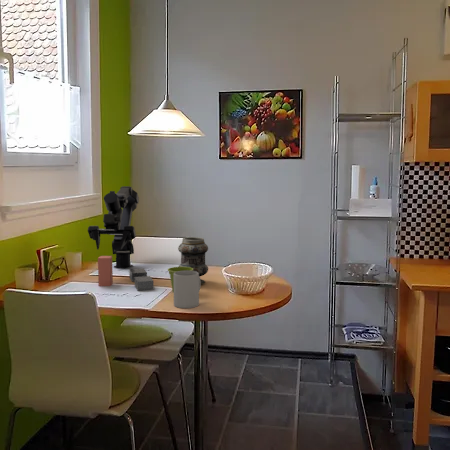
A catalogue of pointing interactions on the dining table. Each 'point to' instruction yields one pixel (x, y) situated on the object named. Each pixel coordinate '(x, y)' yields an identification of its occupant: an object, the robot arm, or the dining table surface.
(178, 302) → the mug
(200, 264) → the apothecary jar
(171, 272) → the plant pot
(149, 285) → the gray block
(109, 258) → the pink rectangular block
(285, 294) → the dining table surface
